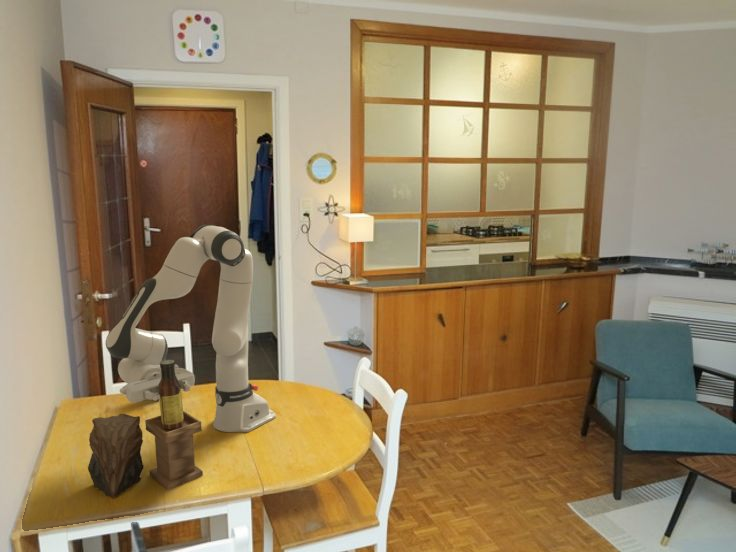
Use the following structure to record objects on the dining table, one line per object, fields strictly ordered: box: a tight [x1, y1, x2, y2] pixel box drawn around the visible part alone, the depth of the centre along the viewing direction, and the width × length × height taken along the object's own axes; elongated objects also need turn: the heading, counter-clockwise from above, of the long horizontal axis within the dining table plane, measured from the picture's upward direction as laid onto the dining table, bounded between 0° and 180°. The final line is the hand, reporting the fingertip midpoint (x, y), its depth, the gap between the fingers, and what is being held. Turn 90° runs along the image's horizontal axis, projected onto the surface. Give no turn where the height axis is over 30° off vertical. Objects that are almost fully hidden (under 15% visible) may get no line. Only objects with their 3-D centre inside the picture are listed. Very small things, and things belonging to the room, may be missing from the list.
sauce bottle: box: [158, 359, 184, 430], centre depth 172 cm, size 6×6×20 cm
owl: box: [87, 413, 144, 499], centre depth 172 cm, size 13×13×20 cm
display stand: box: [144, 410, 204, 491], centre depth 176 cm, size 11×12×18 cm
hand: (173, 393), depth 172 cm, fingers open, 8 cm apart
